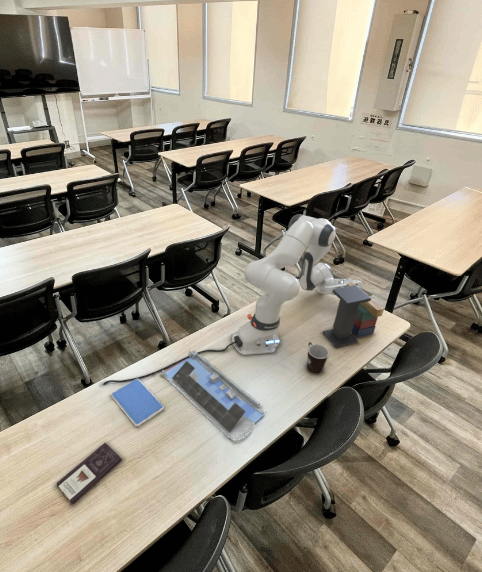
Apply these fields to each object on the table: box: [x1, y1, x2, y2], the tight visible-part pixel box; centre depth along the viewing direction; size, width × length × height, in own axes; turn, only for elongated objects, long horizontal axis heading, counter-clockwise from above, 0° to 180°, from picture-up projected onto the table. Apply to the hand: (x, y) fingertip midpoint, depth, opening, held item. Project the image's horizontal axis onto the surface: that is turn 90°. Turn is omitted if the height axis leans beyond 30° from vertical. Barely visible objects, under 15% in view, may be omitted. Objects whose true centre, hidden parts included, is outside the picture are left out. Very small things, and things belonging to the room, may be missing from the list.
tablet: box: [110, 379, 165, 428], centre depth 138 cm, size 19×13×1 cm, turn 43°
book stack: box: [351, 304, 379, 339], centre depth 175 cm, size 10×15×15 cm, turn 19°
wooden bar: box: [346, 282, 385, 318], centre depth 170 cm, size 4×23×4 cm, turn 19°
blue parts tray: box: [160, 350, 267, 442], centre depth 141 cm, size 18×45×6 cm, turn 44°
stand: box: [322, 285, 372, 349], centre depth 165 cm, size 12×11×26 cm
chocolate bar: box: [56, 442, 123, 505], centre depth 115 cm, size 9×1×18 cm
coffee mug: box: [306, 342, 330, 375], centre depth 154 cm, size 12×9×10 cm
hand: (352, 288), depth 176 cm, fingers closed on wooden bar, 3 cm apart
